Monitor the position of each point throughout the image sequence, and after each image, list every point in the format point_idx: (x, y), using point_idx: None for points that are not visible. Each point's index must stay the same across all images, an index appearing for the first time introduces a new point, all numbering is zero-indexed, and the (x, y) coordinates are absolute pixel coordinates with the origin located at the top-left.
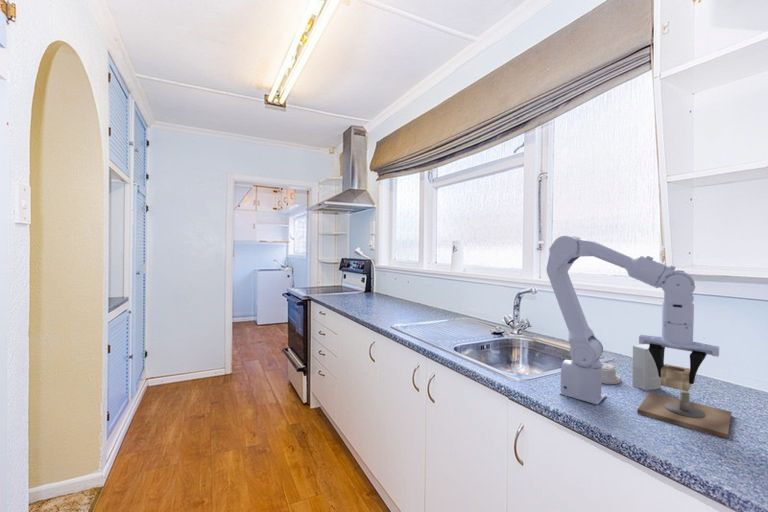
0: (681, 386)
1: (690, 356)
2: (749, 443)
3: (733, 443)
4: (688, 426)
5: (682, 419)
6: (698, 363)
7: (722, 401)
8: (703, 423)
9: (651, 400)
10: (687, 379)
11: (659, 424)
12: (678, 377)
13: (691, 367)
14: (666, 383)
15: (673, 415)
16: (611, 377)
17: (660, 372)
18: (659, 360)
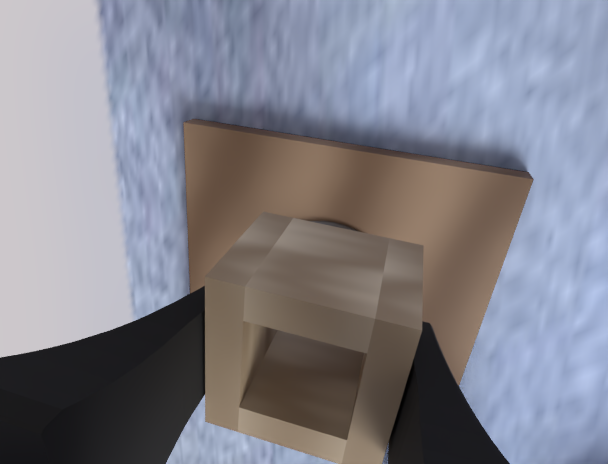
0: (291, 230)
1: (55, 408)
2: (139, 128)
3: (176, 85)
4: (313, 140)
5: (332, 174)
6: (58, 352)
7: (226, 445)
8: (259, 183)
9: (448, 332)
10: (232, 253)
11: (431, 89)
12: (291, 269)
13: (157, 340)
14: (383, 249)
15: (366, 201)
16: None
17: (421, 339)
18: (435, 426)
